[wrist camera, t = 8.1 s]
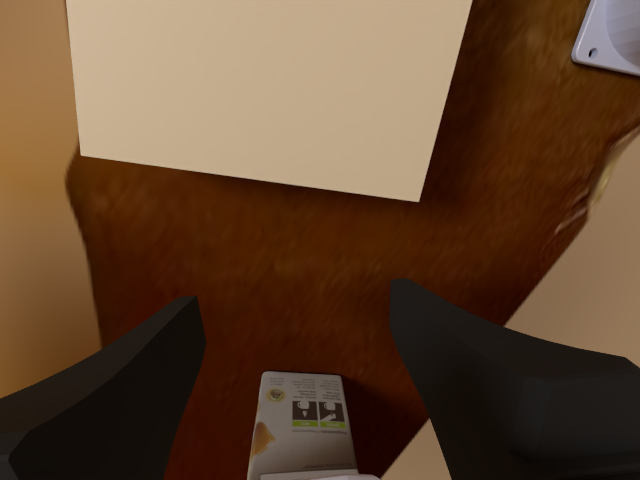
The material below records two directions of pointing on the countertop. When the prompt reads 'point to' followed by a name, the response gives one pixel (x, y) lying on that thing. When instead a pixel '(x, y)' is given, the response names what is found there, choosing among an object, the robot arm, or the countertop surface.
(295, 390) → the coffee box
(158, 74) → the carton
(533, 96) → the countertop surface
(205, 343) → the robot arm
